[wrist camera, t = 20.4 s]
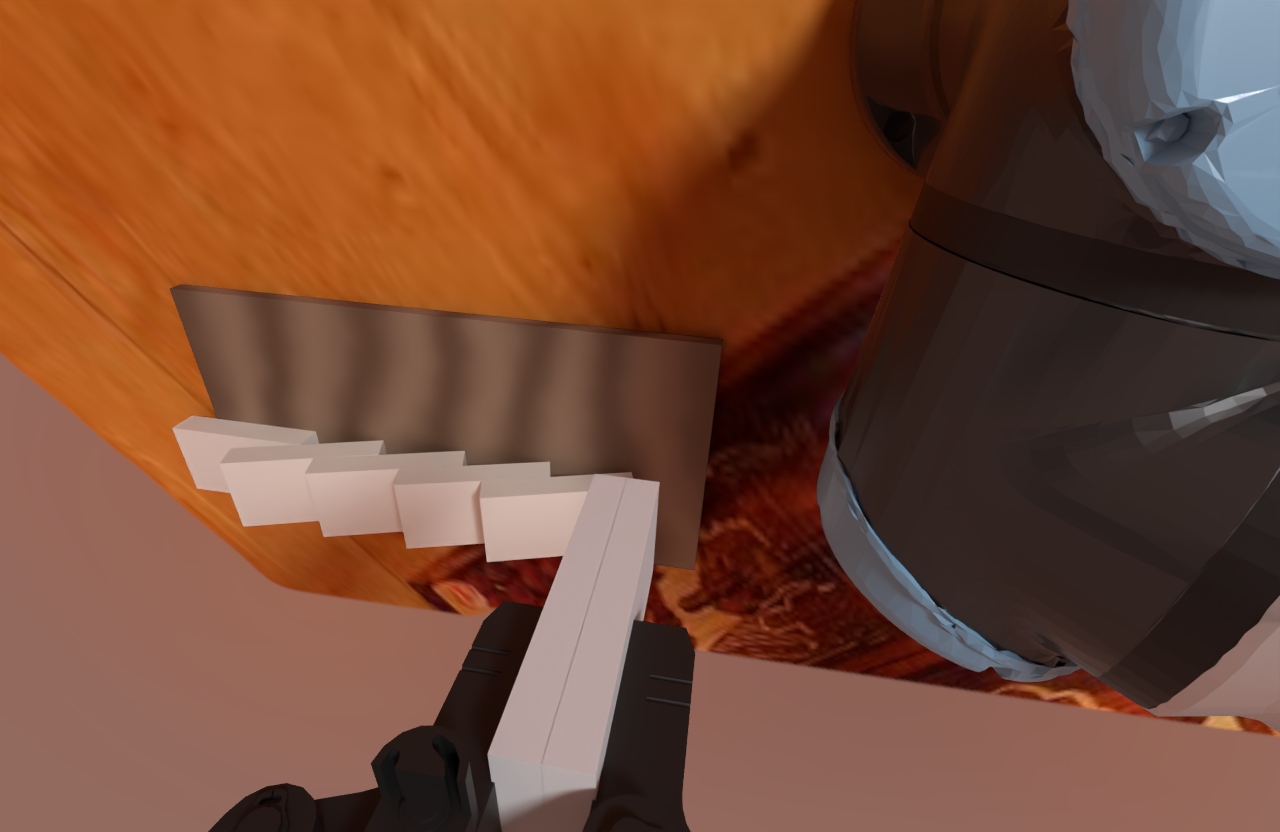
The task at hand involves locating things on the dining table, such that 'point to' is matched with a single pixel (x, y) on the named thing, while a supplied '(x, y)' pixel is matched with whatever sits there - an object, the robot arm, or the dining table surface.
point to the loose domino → (532, 515)
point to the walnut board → (469, 389)
